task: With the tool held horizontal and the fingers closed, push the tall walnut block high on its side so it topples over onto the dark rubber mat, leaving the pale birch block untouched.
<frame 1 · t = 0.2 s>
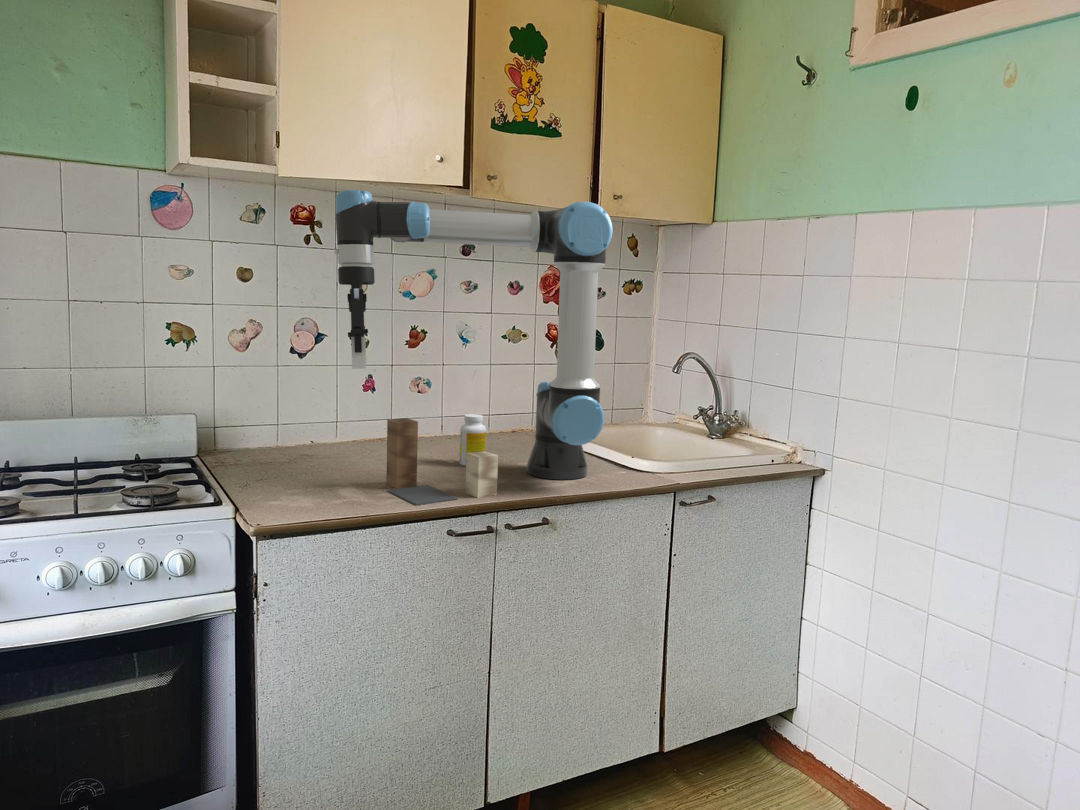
hand: (359, 365, 170), 27 cm above the worktop, tool pointing down, fingers open, 13 cm apart
mat: (422, 495, 171), on the worktop
walnut block: (401, 485, 178), on the worktop
birch block: (481, 494, 174), on the worktop
supplement bottle: (472, 465, 203), on the worktop
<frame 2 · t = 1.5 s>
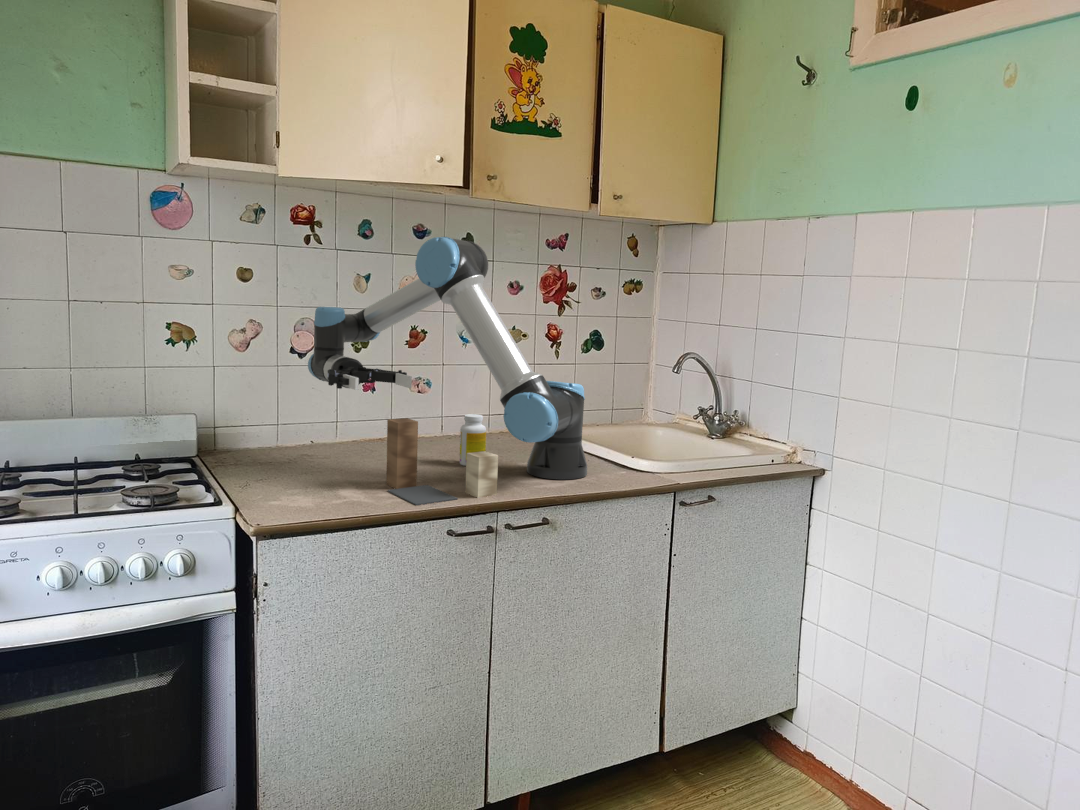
hand: (384, 383, 182), 22 cm above the worktop, tool horizontal, fingers open, 13 cm apart
nothing on the worktop moved.
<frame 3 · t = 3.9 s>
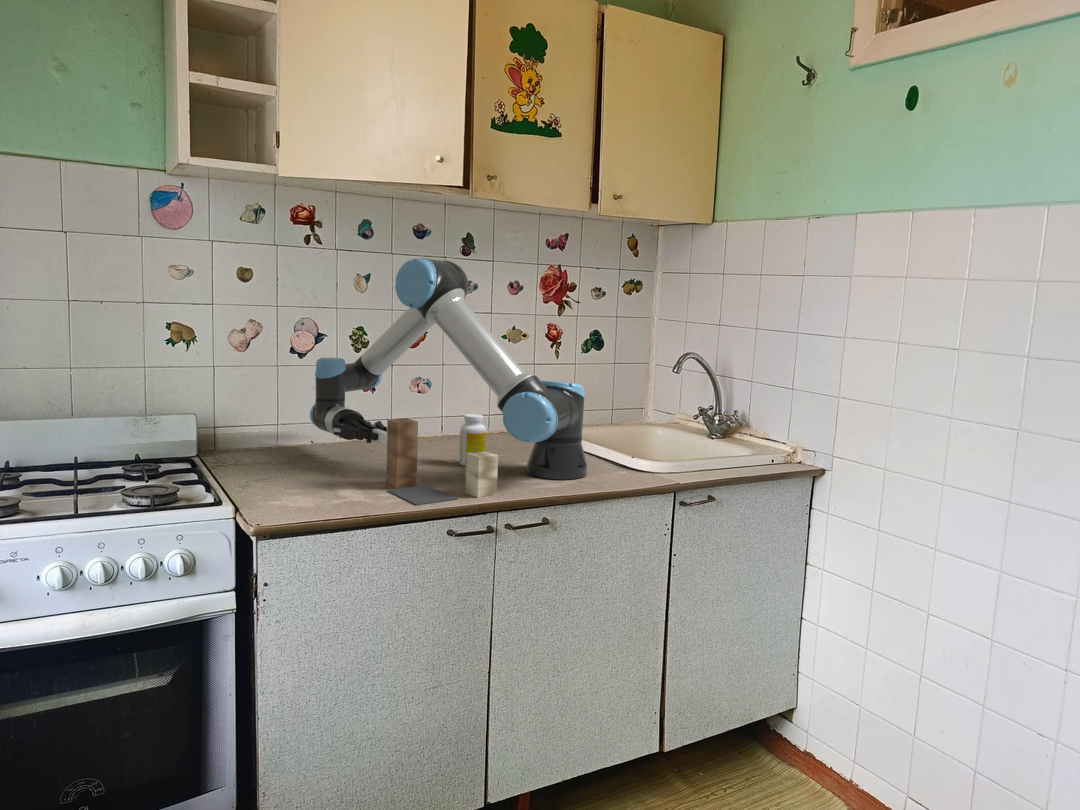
hand: (387, 439, 182), 9 cm above the worktop, tool horizontal, fingers closed
nothing on the worktop moved.
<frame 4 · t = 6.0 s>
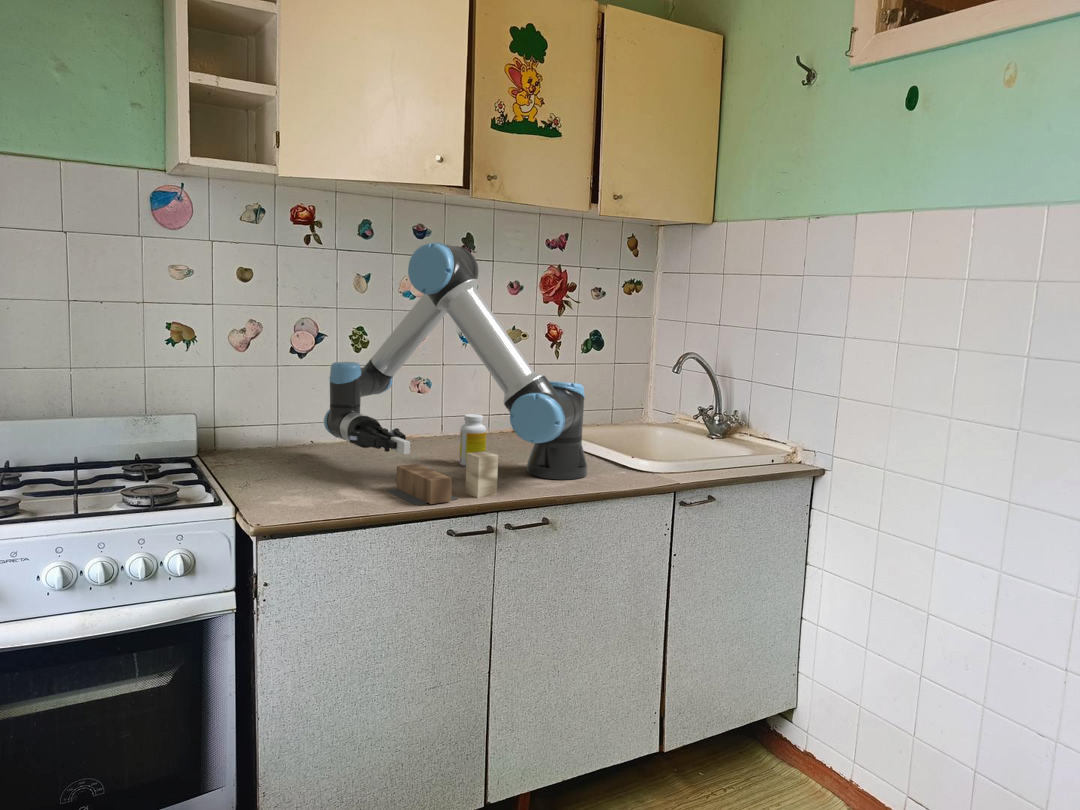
hand: (407, 447, 174), 9 cm above the worktop, tool horizontal, fingers closed
walnut block: (406, 475, 176), point 3 cm above the worktop, tilted 90°, touching mat
everything else where it was.
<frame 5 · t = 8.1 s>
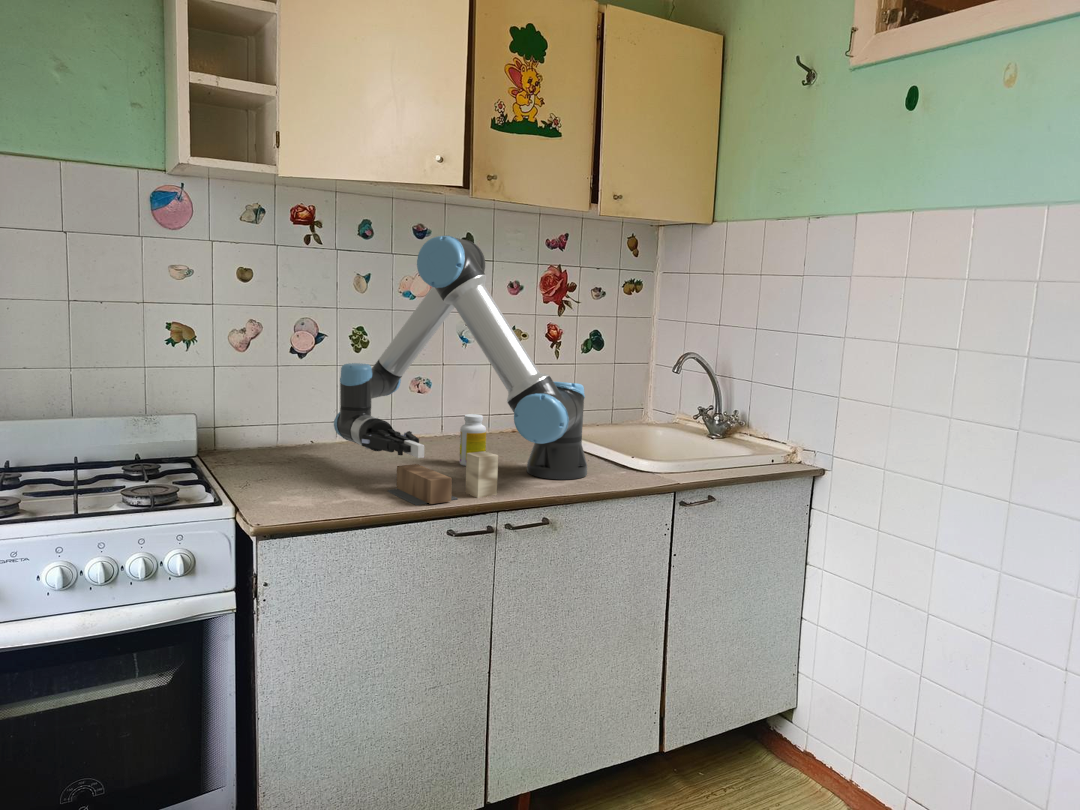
hand: (421, 451, 170), 10 cm above the worktop, tool horizontal, fingers closed
nothing on the worktop moved.
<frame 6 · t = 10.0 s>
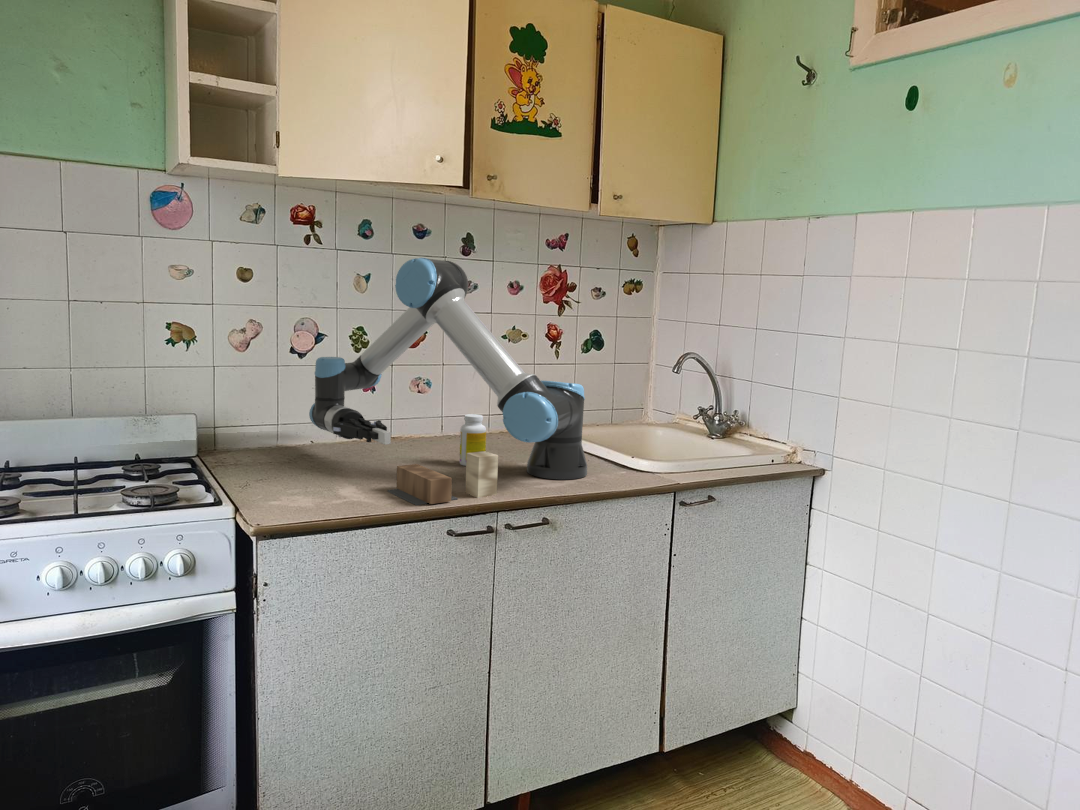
hand: (387, 438, 182), 10 cm above the worktop, tool horizontal, fingers closed
nothing on the worktop moved.
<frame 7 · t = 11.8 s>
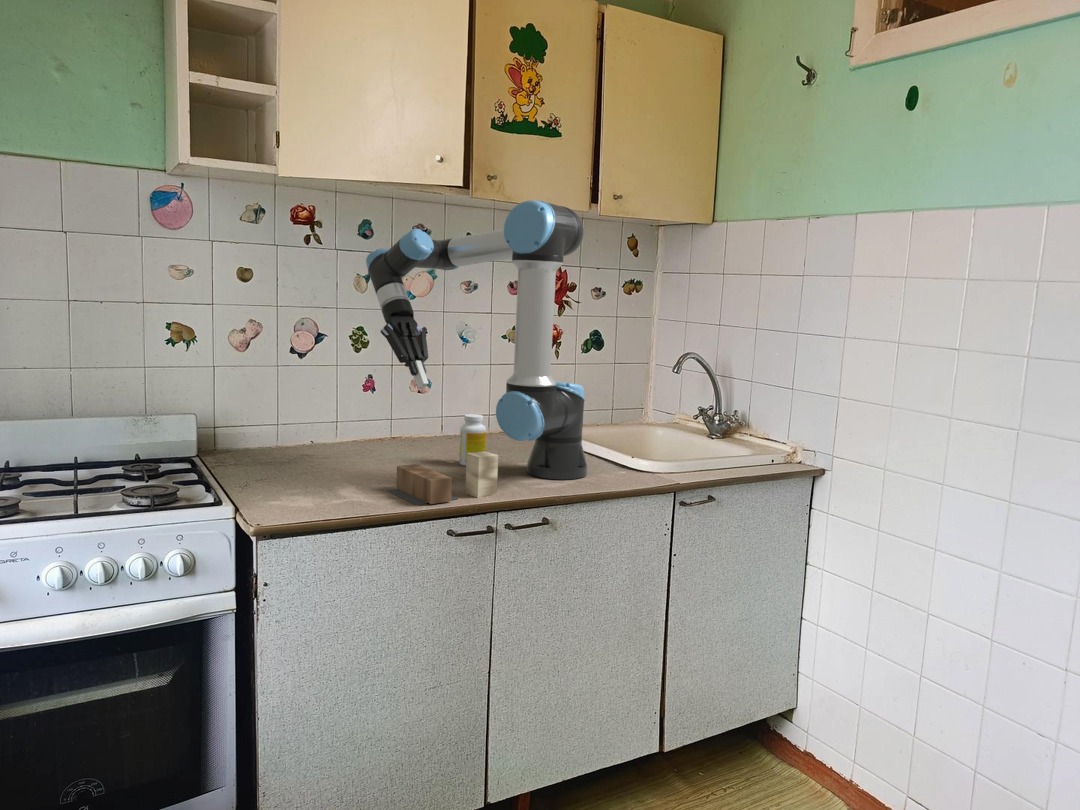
hand: (423, 386, 193), 21 cm above the worktop, tool tilted 35°, fingers closed
nothing on the worktop moved.
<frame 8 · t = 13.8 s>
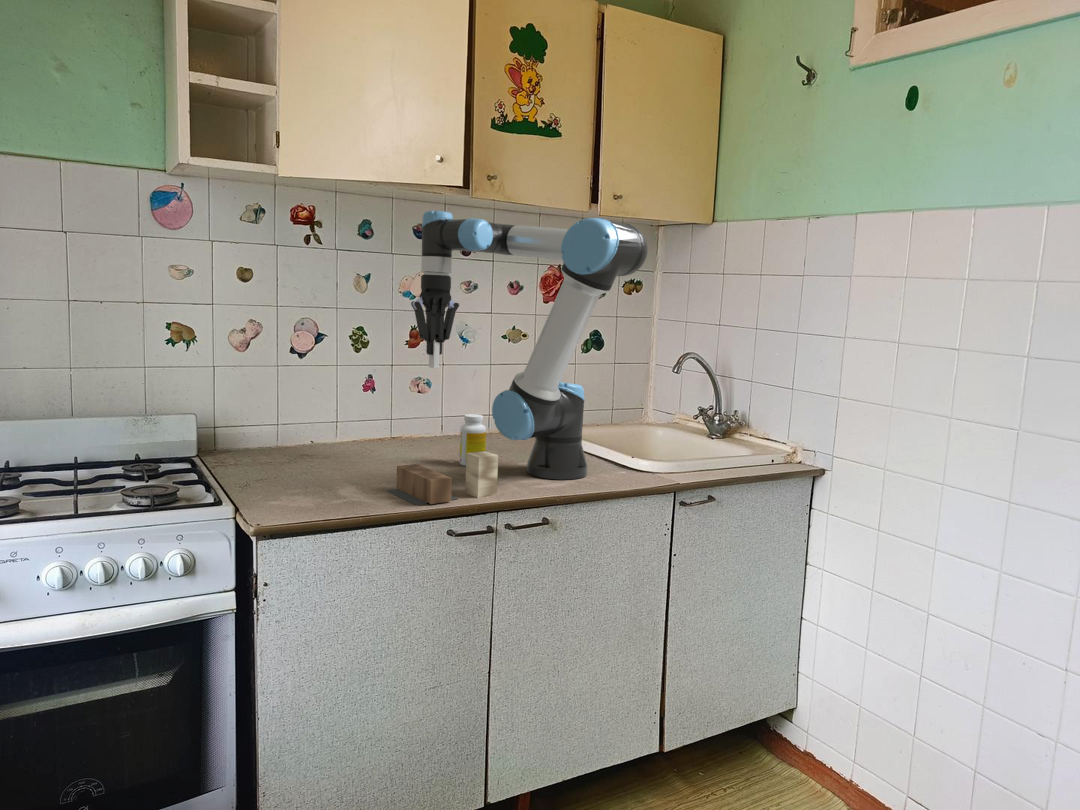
hand: (433, 367, 202), 24 cm above the worktop, tool pointing down, fingers closed
nothing on the worktop moved.
at the end: walnut block tilted 90°; walnut block 7.0 cm from the mat (horizontally); birch block moved 0.1 cm from its start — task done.
